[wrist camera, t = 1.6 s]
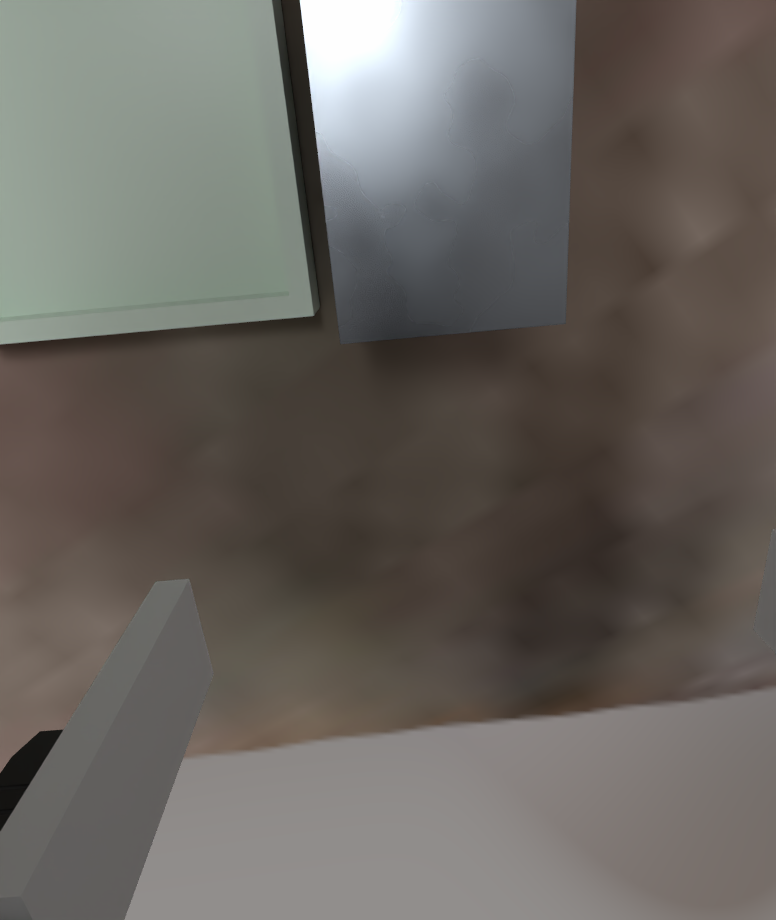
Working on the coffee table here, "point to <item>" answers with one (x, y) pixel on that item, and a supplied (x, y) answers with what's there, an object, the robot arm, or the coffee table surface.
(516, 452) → the coffee table surface
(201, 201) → the tray
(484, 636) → the coffee table surface
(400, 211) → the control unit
